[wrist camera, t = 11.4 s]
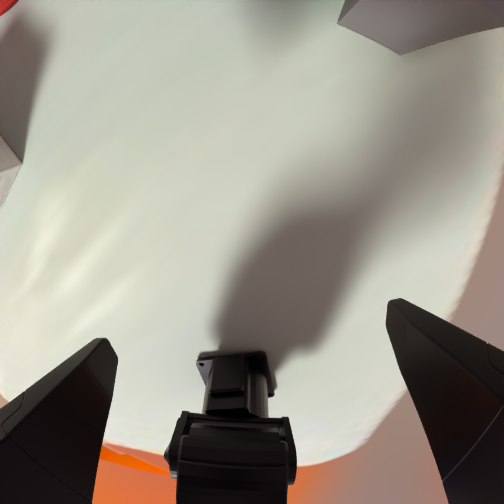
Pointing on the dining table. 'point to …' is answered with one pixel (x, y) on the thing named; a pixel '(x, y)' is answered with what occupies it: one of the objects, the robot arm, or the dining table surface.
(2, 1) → the canned food
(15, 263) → the dining table surface
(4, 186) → the small box
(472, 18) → the block
